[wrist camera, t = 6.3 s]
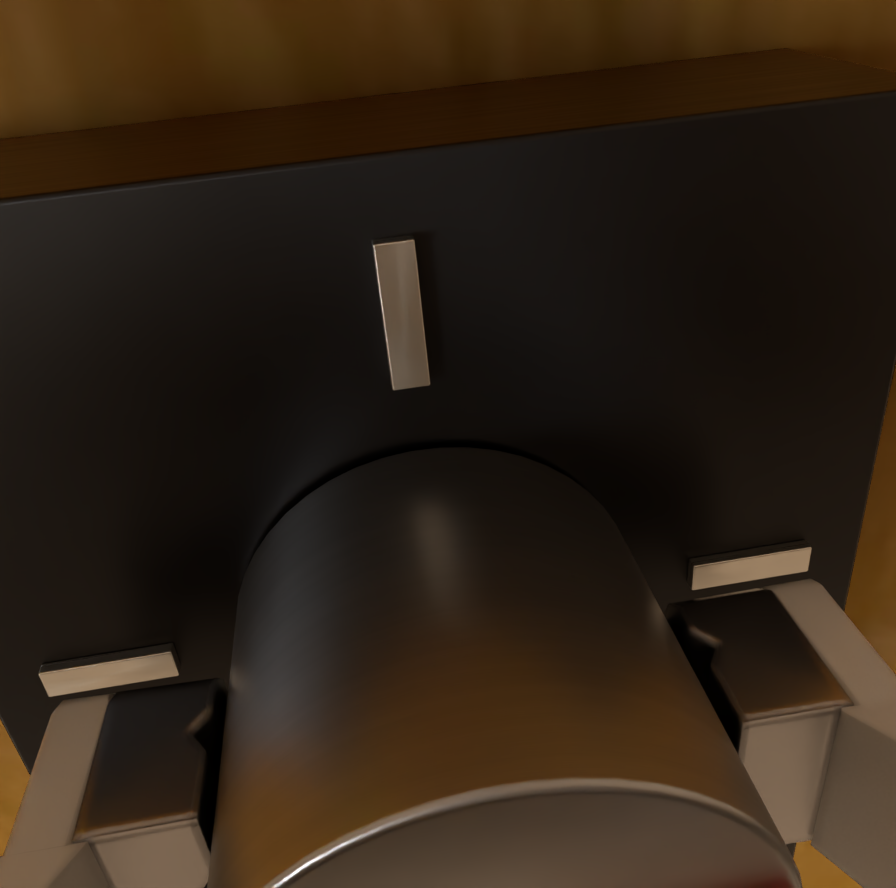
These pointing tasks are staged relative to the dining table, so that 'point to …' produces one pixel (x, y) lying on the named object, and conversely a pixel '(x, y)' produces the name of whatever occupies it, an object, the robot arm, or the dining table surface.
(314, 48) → the dining table surface
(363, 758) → the knob
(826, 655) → the robot arm
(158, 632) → the black dial panel
